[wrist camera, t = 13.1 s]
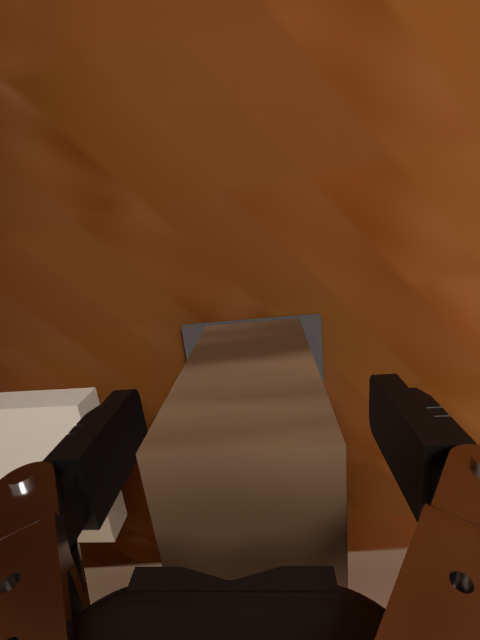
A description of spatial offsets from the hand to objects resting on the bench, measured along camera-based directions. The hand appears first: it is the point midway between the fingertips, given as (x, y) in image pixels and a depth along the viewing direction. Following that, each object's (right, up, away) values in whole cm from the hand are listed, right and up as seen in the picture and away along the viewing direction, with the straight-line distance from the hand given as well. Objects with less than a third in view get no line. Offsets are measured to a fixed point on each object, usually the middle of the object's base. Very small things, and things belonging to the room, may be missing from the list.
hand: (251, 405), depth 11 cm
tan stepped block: (+1, -2, +4) cm, 5 cm away
